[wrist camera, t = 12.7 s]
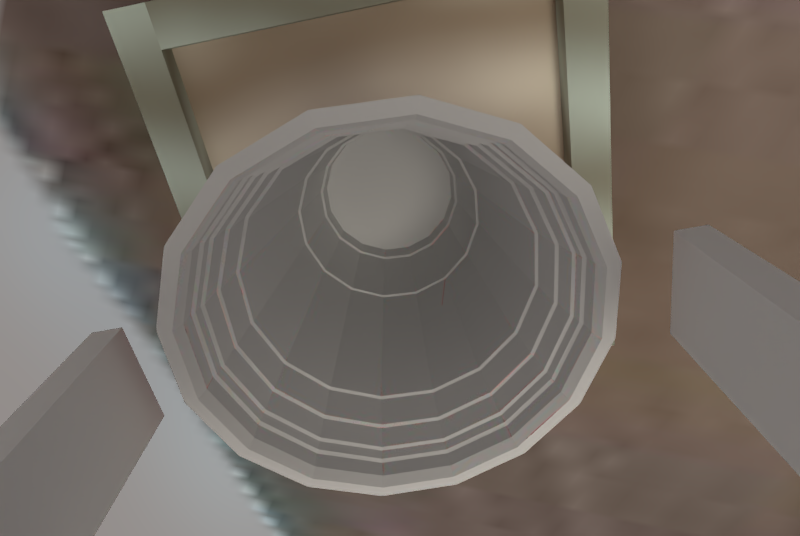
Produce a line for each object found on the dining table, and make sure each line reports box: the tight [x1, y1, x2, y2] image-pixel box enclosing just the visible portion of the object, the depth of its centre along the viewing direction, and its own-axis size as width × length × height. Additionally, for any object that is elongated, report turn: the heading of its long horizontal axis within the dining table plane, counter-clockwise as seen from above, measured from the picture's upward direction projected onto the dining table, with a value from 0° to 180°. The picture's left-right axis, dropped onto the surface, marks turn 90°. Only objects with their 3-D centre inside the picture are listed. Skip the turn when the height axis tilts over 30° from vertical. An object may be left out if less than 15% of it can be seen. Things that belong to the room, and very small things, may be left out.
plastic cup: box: [156, 95, 622, 496], centre depth 17 cm, size 11×11×12 cm
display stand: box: [102, 0, 615, 345], centre depth 24 cm, size 18×18×5 cm
